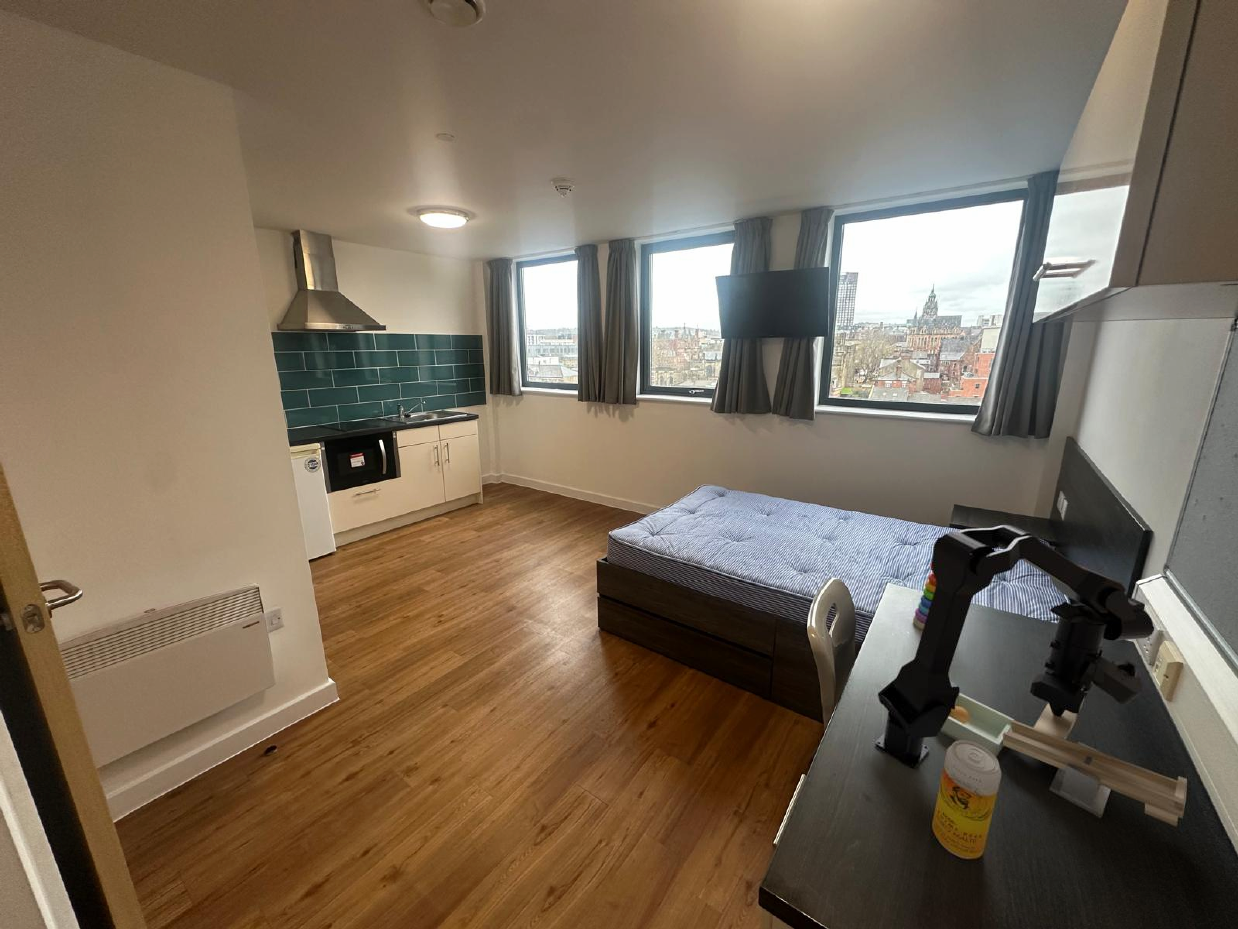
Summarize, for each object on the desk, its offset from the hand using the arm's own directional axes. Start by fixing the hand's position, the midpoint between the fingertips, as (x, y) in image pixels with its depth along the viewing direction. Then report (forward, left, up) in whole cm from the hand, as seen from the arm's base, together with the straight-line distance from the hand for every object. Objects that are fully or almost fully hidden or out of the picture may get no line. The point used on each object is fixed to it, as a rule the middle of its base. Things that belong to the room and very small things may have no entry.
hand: (1056, 715), depth 87 cm
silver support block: (-11, -6, -4) cm, 13 cm away
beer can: (-36, +3, -4) cm, 36 cm away
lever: (-5, -6, -2) cm, 8 cm away
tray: (-11, +9, -4) cm, 15 cm away
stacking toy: (+20, +27, -4) cm, 34 cm away
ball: (-11, +11, -2) cm, 16 cm away
